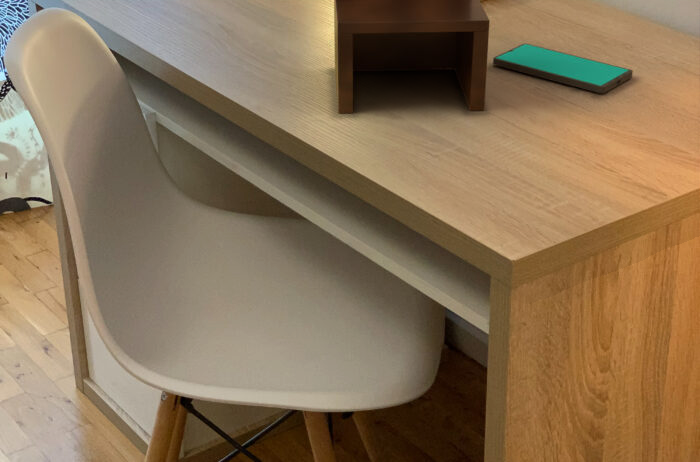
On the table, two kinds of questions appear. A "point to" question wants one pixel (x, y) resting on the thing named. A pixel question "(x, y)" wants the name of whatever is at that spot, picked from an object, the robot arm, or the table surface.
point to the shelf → (411, 42)
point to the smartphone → (563, 68)
